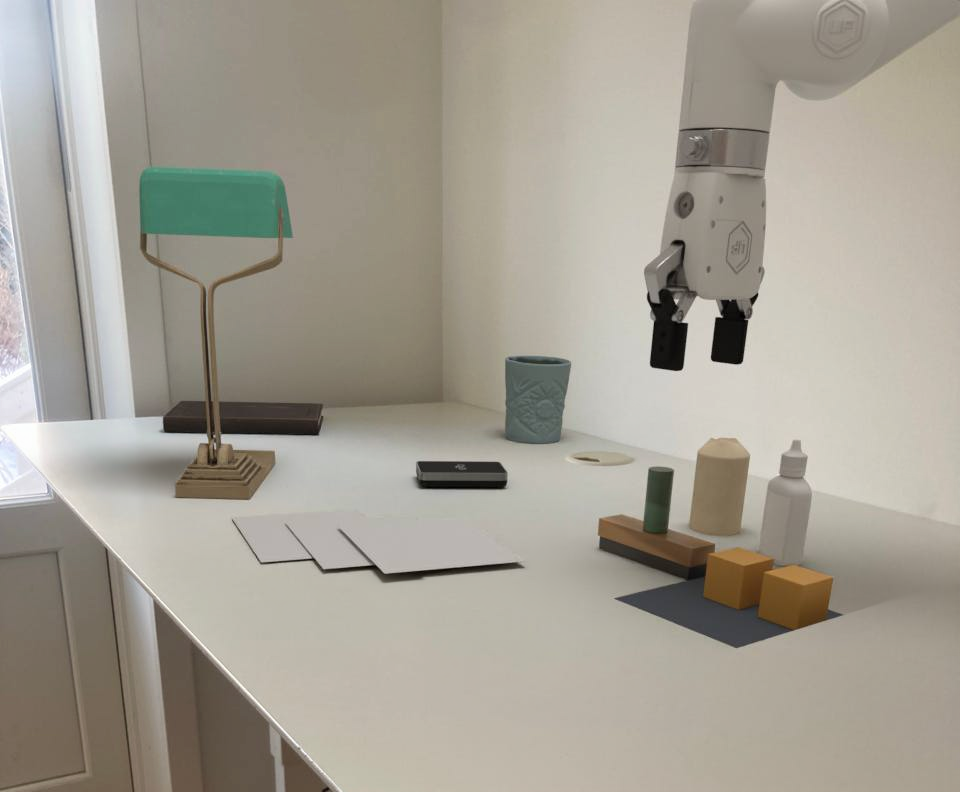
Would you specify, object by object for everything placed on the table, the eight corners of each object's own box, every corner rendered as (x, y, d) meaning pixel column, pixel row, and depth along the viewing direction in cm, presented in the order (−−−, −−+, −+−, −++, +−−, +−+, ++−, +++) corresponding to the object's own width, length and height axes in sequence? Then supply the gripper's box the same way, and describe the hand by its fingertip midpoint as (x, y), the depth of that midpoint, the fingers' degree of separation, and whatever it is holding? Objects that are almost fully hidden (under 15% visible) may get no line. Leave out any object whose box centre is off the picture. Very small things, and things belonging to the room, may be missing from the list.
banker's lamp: (143, 496, 118) (113, 160, 105) (185, 459, 137) (164, 172, 124) (281, 499, 118) (268, 166, 105) (304, 462, 138) (295, 177, 125)
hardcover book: (181, 414, 168) (180, 400, 167) (323, 417, 171) (323, 403, 170) (163, 432, 154) (162, 417, 153) (318, 435, 156) (318, 420, 155)
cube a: (786, 608, 88) (793, 564, 87) (826, 622, 86) (834, 577, 84) (757, 617, 86) (763, 571, 85) (796, 631, 83) (804, 585, 82)
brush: (619, 545, 106) (626, 455, 102) (711, 577, 97) (723, 480, 93) (596, 549, 104) (603, 458, 100) (688, 583, 95) (699, 484, 91)
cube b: (732, 589, 93) (737, 546, 91) (768, 601, 90) (774, 558, 88) (702, 597, 91) (708, 553, 89) (738, 610, 88) (744, 565, 86)
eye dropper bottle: (754, 564, 101) (771, 443, 96) (758, 549, 106) (775, 433, 101) (800, 570, 100) (820, 447, 95) (802, 555, 105) (821, 437, 100)
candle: (730, 540, 109) (742, 446, 105) (681, 531, 112) (691, 439, 108) (746, 529, 113) (758, 438, 110) (699, 520, 116) (709, 432, 112)
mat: (719, 574, 98) (719, 572, 98) (889, 632, 84) (889, 630, 84) (613, 600, 90) (613, 598, 90) (782, 668, 76) (783, 666, 76)
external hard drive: (415, 476, 132) (415, 460, 131) (500, 476, 134) (501, 461, 133) (419, 488, 126) (420, 472, 125) (508, 489, 127) (509, 473, 126)
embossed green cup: (517, 430, 166) (521, 353, 161) (576, 437, 162) (581, 359, 157) (490, 439, 157) (493, 359, 153) (551, 447, 153) (556, 365, 149)
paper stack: (279, 590, 89) (279, 582, 88) (231, 517, 110) (231, 511, 110) (525, 567, 97) (526, 560, 97) (436, 504, 118) (436, 498, 118)
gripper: (702, 148, 78) (677, 377, 85) (811, 164, 90) (782, 365, 96) (623, 150, 83) (605, 367, 89) (736, 165, 95) (713, 356, 101)
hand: (697, 365), depth 93 cm, fingers open, 9 cm apart
